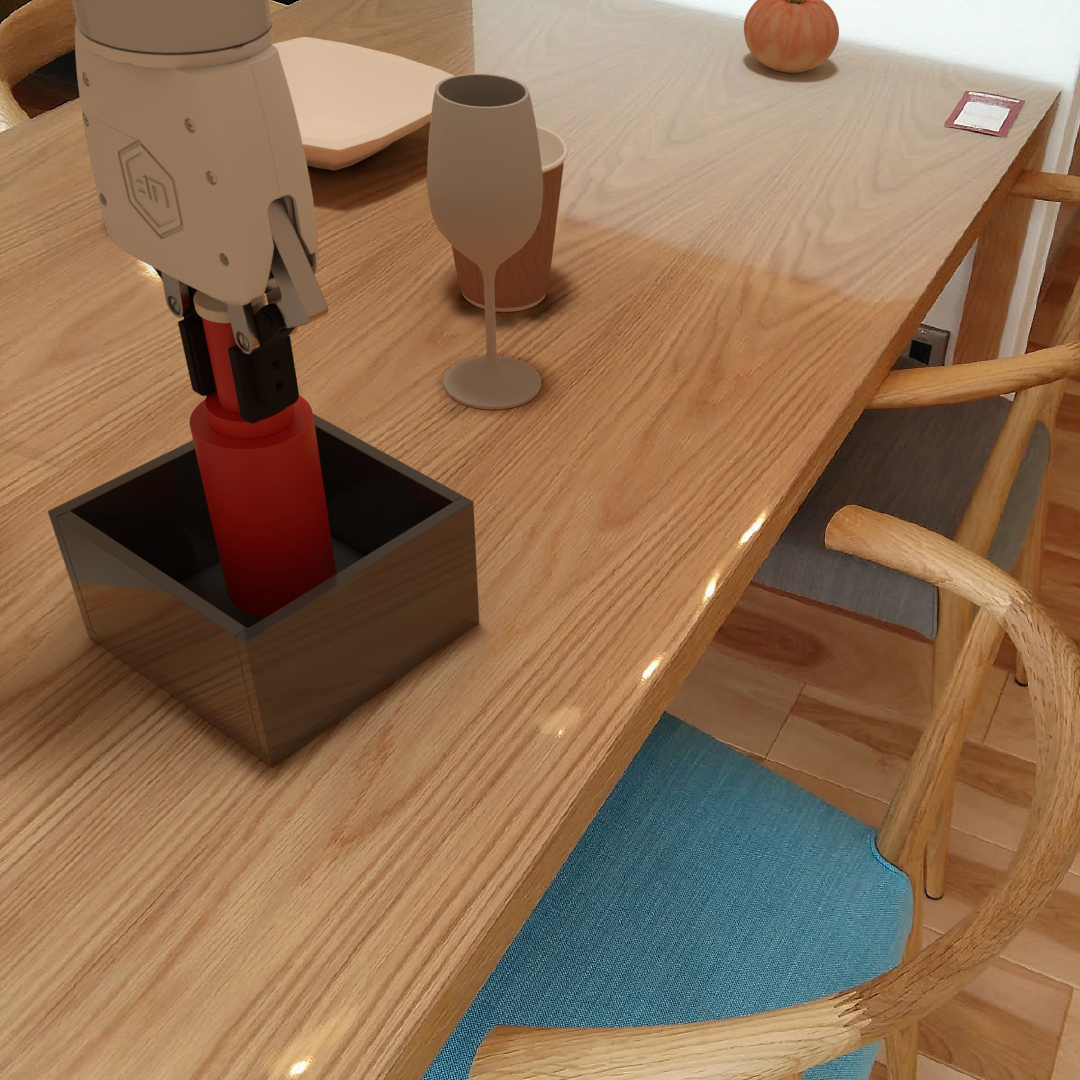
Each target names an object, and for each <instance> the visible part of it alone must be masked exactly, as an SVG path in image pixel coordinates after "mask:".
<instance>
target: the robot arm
mask: <svg viewBox="0 0 1080 1080" xmlns="http://www.w3.org/2000/svg"><path fill="white" fill-rule="evenodd" d="M71 2H72V7H73V11H74V16H75V20H76V21H75V23H74V52H75V65H76V78H77V86H78V87H77V88H78V94H79V102H80V111H81V115H82V122H83V128H84V133H85V140H86V144H87V151H88V155H89V161H90V166H91V171H92V175H93V181H94V184H95V185H94V186H95V189H96V195H97V199H98V204H99V209H100V212H101V216H102V220H103V224H104V226H105V227H104V228H105V230H106V233H107V235H108V236H109V238H110V239H111V241H112V242H113V243H114V244H115V245H116V246H117V247H119V249H120V250H122V251H124V252H125V253H127V254H128V255H130V256H132V257H133V258H135V259H137V260H139V261H140V262H142V263H144V264H146V265H148V266H150V267H151V268H153V270H154V271H155V272H156V273H157V275H158V277H159V278H160V279H161V281H162V285H163V291H164V296H165V302H166V305H167V307H168V309H169V311H170V313H172V315H173V316H174V317H176V318H178V319H180V318H183V319H181V320H179V321H177V326H178V330H179V334H180V335H179V336H180V340H181V343H182V348H183V352H184V357H185V362H186V367H187V370H188V371H187V372H188V376H189V380H190V385H191V389H192V391H193V392H194V393H196V394H198V395H200V396H201V397H206V396H207V395H210V394H212V393H214V392H216V391H217V389H216V385H215V380H214V375H213V370H212V365H211V360H210V355H209V350H208V345H207V341H206V336H205V331H204V326H203V321H202V317H201V316H199V315H198V313H197V312H196V309H195V304H194V295H195V293H196V292H197V291H198V290H199V291H201V292H203V293H205V294H207V295H209V296H211V297H213V298H215V299H217V300H219V301H221V302H224V303H226V306H227V310H228V314H229V318H230V322H231V326H232V330H233V334H234V339H235V341H236V344H237V345H234V346H232V347H230V348H228V352H229V358H230V363H231V368H232V374H233V379H234V384H235V389H236V394H237V399H238V405H239V410H240V414H241V417H242V418H243V419H244V420H246V421H248V422H249V423H251V424H254V423H256V422H258V421H260V420H262V419H264V418H266V417H268V416H270V415H272V414H274V413H276V412H278V411H280V410H282V409H284V408H286V407H288V406H290V405H292V404H294V403H296V402H297V400H298V398H299V395H300V392H299V384H298V379H297V371H296V366H295V358H294V352H293V346H292V340H291V336H292V335H294V334H296V333H297V332H298V327H302V326H306V325H309V324H311V323H312V322H315V321H317V320H319V319H322V318H324V317H326V316H327V315H328V314H329V307H328V303H327V301H326V298H325V296H324V293H323V291H322V289H321V287H320V285H319V281H318V280H317V277H316V275H315V274H316V272H317V271H318V267H319V262H320V261H319V259H320V254H319V253H320V252H319V251H320V249H319V236H318V235H319V234H318V233H319V232H318V225H317V216H316V210H315V204H314V196H313V189H312V185H311V178H310V173H309V168H308V165H307V163H306V158H305V153H304V149H303V144H302V139H301V134H300V130H299V126H298V122H297V118H296V113H295V109H294V105H293V102H292V98H291V94H290V90H289V87H288V83H287V79H286V76H285V73H284V70H283V66H282V63H281V60H280V56H279V53H278V49H277V48H276V47H274V46H273V45H272V44H273V42H274V40H275V39H274V38H275V31H274V25H273V24H274V23H273V17H272V16H273V15H272V11H271V10H272V9H271V2H270V0H71ZM263 294H264V295H265V298H266V305H265V306H263V307H261V308H260V309H259V311H258V312H257V313H256V314H255V315H254V314H253V309H252V305H251V300H252V299H254V298H256V297H259V296H262V295H263Z"/></svg>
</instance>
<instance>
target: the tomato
mask: <svg viewBox="0 0 1080 1080" xmlns="http://www.w3.org/2000/svg"><path fill="white" fill-rule="evenodd" d="M743 22H744V23H743V35H744V38H745V39H744V40H745V43H746V46H747V48H748V50H749V52H750V54H751V55H752V56H753V57H754V58H755V59H756V61H758V62H760V63H761V64H762V65H764V66H765V67H767V68H770V69H771V70H774V71H777V72H781V73H788V74H790V73H791V74H792V73H793V74H794V73H795V74H797V73H804V72H807V71H810V70H811V71H812V70H813V69H816V68H817V67H820V65H822V64H824V63H825V62H826V61H827V60H828V59H829V58H830V57H831V56H832V54H833V52H835V51H834V50H835V49H836V47H837V45H838V41H839V37H840V26H839V23H838V19H837V16H836V14H835V12H834V10H833V9H832V6H830V5H829V4H828V3H827V2H826V1H825V0H756V1H754V3H753V4H752V5H751V6H750V7H749V9H748V11H747V13H746V16H745V18H744V21H743Z"/></svg>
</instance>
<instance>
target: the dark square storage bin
mask: <svg viewBox="0 0 1080 1080" xmlns="http://www.w3.org/2000/svg"><path fill="white" fill-rule="evenodd" d="M313 418H314V425H315V432H316V438H317V445H318V452H319V458H320V465H321V472H322V479H323V485H324V492H325V499H326V505H327V512H328V519H329V526H330V532H331V539H332V546H333V552H334V559H335V566H336V572H337V574H336V575H334V576H332V577H331V578H329V579H327V580H326V581H324V582H323V583H321V584H319V585H318V586H316V587H314V588H313V589H311V590H310V591H308V592H306V593H305V594H303V595H301V596H300V597H298V598H297V599H295V600H293V601H292V602H290V603H288V604H287V605H285V606H284V607H282V608H280V609H279V610H277V611H275V612H274V613H272V614H271V615H269V616H267V617H266V618H261V617H256V616H252V615H250V614H247V613H245V612H243V611H241V610H240V609H238V608H237V607H236V606H235V605H234V604H233V603H232V602H231V600H230V599H229V596H228V593H227V588H226V584H225V579H224V575H223V571H222V566H221V562H220V557H219V553H218V548H217V544H216V540H215V535H214V531H213V526H212V522H211V517H210V513H209V509H208V504H207V500H206V495H205V491H204V487H203V482H202V478H201V473H200V469H199V464H198V460H197V456H196V451H195V447H194V442H193V439H191V440H190V441H187V442H186V443H183V444H182V445H180V446H178V447H175V448H172V449H171V450H169V451H167V452H165V453H163V454H161V455H159V456H157V457H155V458H153V459H151V460H148V461H147V462H145V463H143V464H141V465H139V466H136V467H134V468H132V469H130V470H128V471H126V472H125V473H122V474H120V475H118V476H117V477H114V478H112V479H110V480H107V481H106V482H104V483H102V484H100V485H98V486H96V487H94V488H92V489H89V490H88V491H86V492H84V493H82V494H80V495H77V496H75V497H74V498H73V497H72V498H71V499H70V500H68V501H65V502H63V503H60V504H59V505H56V506H55V507H53V508H51V509H49V510H48V511H47V513H48V517H49V521H50V523H51V526H52V529H53V532H54V535H55V538H56V542H57V544H58V547H59V550H60V554H61V556H62V560H63V562H64V566H65V568H66V573H67V575H68V578H69V581H70V583H71V587H72V590H73V593H74V597H75V600H76V602H77V605H78V608H79V611H80V615H81V617H82V621H83V623H84V627H85V631H86V633H87V636H88V637H89V638H90V639H92V640H93V641H94V642H96V643H97V644H98V645H99V646H101V647H102V648H104V649H105V650H107V651H108V652H110V653H111V654H113V655H114V656H115V657H116V658H118V659H119V660H121V661H122V662H124V663H125V664H127V665H128V666H130V667H131V668H132V669H134V670H135V671H137V672H138V673H139V674H141V675H142V676H144V677H145V678H146V679H147V680H149V681H151V682H152V683H153V684H155V685H156V686H158V687H159V688H160V689H162V690H163V691H164V692H166V693H167V694H168V695H170V696H171V697H173V698H174V699H175V700H177V701H178V702H179V703H181V704H183V706H185V707H186V708H188V709H190V710H191V711H192V712H194V713H195V714H196V715H198V716H199V717H201V718H202V719H203V720H205V721H206V722H207V723H209V724H211V725H212V726H213V727H215V728H216V729H218V730H219V731H220V732H222V733H223V734H225V735H226V736H227V737H228V738H230V739H231V740H233V741H234V742H236V743H237V744H239V745H240V746H241V747H242V748H244V749H246V750H247V751H248V752H250V753H251V754H253V755H254V756H255V757H257V758H258V759H260V760H261V761H262V762H264V763H265V764H267V766H269V767H271V768H275V767H276V766H278V765H279V764H280V763H282V762H283V761H284V760H286V759H287V758H289V757H290V756H291V755H293V754H294V753H296V752H297V751H298V750H300V749H301V748H303V747H305V746H306V745H307V744H308V743H310V742H312V741H313V740H314V739H316V738H317V737H318V736H320V735H322V734H323V733H324V732H325V731H327V730H328V729H329V728H331V727H332V726H335V725H336V724H337V723H338V722H340V721H341V720H342V719H344V718H345V717H347V716H348V715H350V714H351V713H352V712H354V711H356V709H359V708H360V707H361V706H363V705H364V704H365V703H366V702H368V701H370V700H371V699H373V698H374V697H375V696H376V695H379V693H381V692H382V691H384V690H385V689H387V688H388V687H389V686H391V685H392V684H394V683H395V682H396V681H397V680H398V681H399V679H401V678H402V677H403V676H405V675H406V674H408V673H409V672H410V671H412V670H413V669H415V668H416V667H418V666H420V664H422V663H423V662H425V661H426V660H427V659H429V658H431V656H433V655H434V654H436V653H438V652H439V651H441V649H443V648H444V647H446V646H447V645H449V644H451V642H453V641H454V640H456V639H458V637H460V636H462V635H463V634H464V633H466V632H468V631H469V630H470V629H471V628H473V627H474V626H476V625H477V624H479V623H480V606H479V604H480V603H479V587H478V566H477V565H478V564H477V546H476V544H477V543H476V524H475V504H474V500H472V499H470V498H468V497H467V496H464V495H463V494H461V493H459V492H457V491H455V490H454V489H452V488H450V487H448V486H446V485H445V484H442V483H441V482H439V481H437V480H435V479H434V478H431V477H430V476H428V475H426V474H424V473H422V472H420V471H419V470H417V469H415V468H414V467H412V466H410V465H408V464H406V463H404V462H403V461H401V460H399V459H397V458H395V457H394V456H391V454H390V455H389V454H388V453H386V452H384V451H382V450H381V449H379V448H377V447H375V446H373V445H371V444H370V443H368V442H366V441H364V440H362V439H361V438H359V437H357V436H355V435H353V434H352V433H350V432H348V431H346V430H345V429H343V428H340V427H338V426H337V425H335V424H334V423H332V422H330V421H327V420H326V419H324V418H322V417H320V416H319V415H317V414H316V413H313Z"/></svg>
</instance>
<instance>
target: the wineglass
mask: <svg viewBox="0 0 1080 1080" xmlns="http://www.w3.org/2000/svg"><path fill="white" fill-rule="evenodd" d="M536 125H537V123H536V116H535V112H534V107H533V101H532V99H531V94H530V90H529V88H528V87H527V86H526V85H525V84H524V83H522V82H521V81H519V80H516V79H514V78H511V77H508V76H503V75H498V74H490V73H463V74H458V75H454V76H453V77H449V78H446V79H444V80H442V81H440V82H439V83H438V84H437V85H436V88H435V92H434V98H433V105H432V113H431V121H429V131H428V146H427V166H426V185H427V187H426V188H427V198H428V202H429V203H428V204H429V208H430V212H431V216H432V218H433V221H434V223H435V224H436V227H437V229H438V231H439V232H440V233H441V235H442V236H443V237H444V238H445V239H446V240H447V241H448V243H449V244H450V245H451V247H452V246H453V247H454V248H455V249H457V250H458V251H459V252H460V253H462V254H463V255H464V256H466V257H467V258H468V259H470V260H471V261H473V262H474V263H476V264H477V265H478V266H479V268H480V270H481V271H482V276H483V281H484V298H485V309H484V320H485V347H486V349H485V351H486V352H485V355H481V356H473V357H471V358H467V359H463V360H461V361H459V362H457V363H454V364H453V365H452V366H451V367H449V368H448V369H447V370H446V372H445V373H444V375H443V379H442V380H443V381H442V383H443V384H442V385H443V387H444V388H443V389H444V391H445V392H446V393H447V395H448V396H449V397H450V398H451V399H453V401H454V400H455V402H457V403H460V404H462V405H464V406H467V407H471V408H474V409H481V410H491V411H492V410H505V409H506V410H507V409H511V408H517V407H519V406H522V405H524V404H526V403H528V402H530V401H532V400H533V399H534V398H535V397H537V396H538V394H539V393H540V391H541V389H542V378H541V376H540V373H539V372H538V371H537V370H536V368H535V367H534V366H532V365H530V364H529V363H528V362H524V361H522V360H520V359H518V358H514V357H509V356H503V355H498V351H497V326H496V325H497V323H496V322H497V321H496V311H495V290H494V281H495V274H496V270H497V269H498V267H499V265H500V264H502V263H503V262H504V261H506V260H507V259H509V258H510V257H511V256H512V255H514V254H515V253H516V252H517V251H519V250H520V249H521V248H522V247H523V246H524V245H525V244H526V242H527V241H528V240H529V239H530V238H531V236H532V235H533V234H534V232H535V230H536V228H537V225H538V223H539V220H540V218H541V211H542V202H543V175H542V165H541V157H540V149H539V141H538V134H537V128H536Z"/></svg>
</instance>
